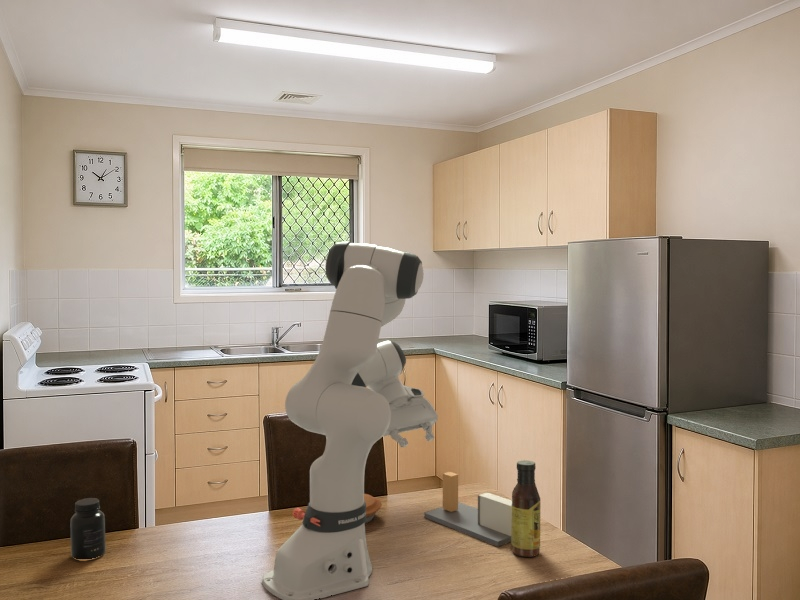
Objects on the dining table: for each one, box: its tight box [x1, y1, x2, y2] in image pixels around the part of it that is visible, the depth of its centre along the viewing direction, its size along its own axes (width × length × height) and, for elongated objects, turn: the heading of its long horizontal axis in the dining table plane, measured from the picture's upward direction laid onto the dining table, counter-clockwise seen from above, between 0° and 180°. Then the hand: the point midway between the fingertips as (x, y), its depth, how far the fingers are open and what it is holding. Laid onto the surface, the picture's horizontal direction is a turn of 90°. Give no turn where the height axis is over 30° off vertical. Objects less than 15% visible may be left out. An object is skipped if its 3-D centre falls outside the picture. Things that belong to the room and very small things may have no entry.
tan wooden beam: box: [442, 471, 459, 512], centre depth 172 cm, size 2×3×9 cm
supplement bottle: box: [69, 497, 107, 559], centre depth 149 cm, size 7×7×12 cm
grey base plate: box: [423, 491, 512, 548], centre depth 166 cm, size 12×24×8 cm, turn 41°
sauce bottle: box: [510, 459, 541, 558], centre depth 150 cm, size 7×6×20 cm
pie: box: [364, 493, 383, 524], centre depth 171 cm, size 15×16×5 cm
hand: (418, 442), depth 181 cm, fingers open, 8 cm apart
